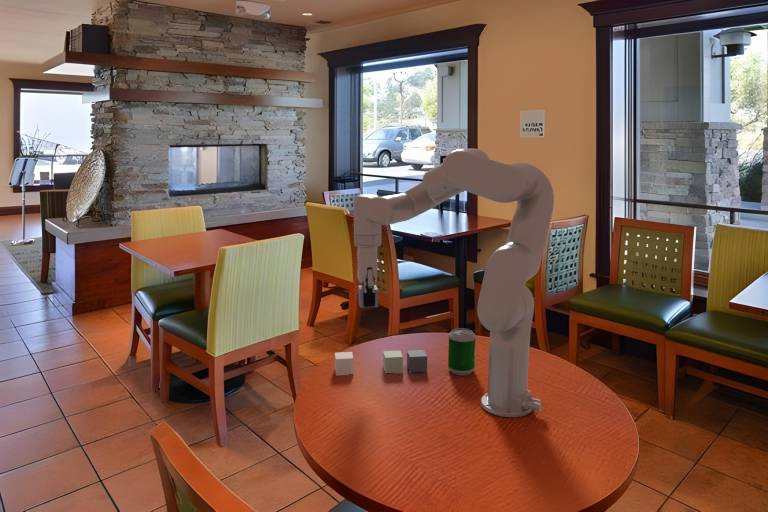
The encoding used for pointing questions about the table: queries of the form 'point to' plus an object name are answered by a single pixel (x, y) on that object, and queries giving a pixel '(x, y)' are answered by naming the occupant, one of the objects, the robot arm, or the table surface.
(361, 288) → the slate block
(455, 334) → the soda can
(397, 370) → the sage block
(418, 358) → the charcoal block
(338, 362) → the cream block
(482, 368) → the table surface
